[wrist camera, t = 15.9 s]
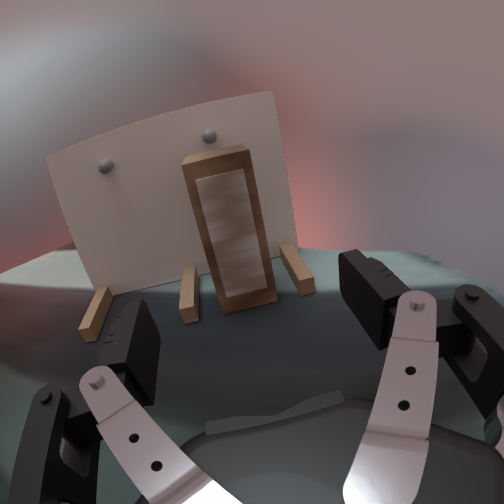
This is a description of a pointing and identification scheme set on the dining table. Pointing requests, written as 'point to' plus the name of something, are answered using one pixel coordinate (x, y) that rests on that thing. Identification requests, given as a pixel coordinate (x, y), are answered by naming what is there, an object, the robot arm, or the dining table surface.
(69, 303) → the dining table surface
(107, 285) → the white upright flat panel
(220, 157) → the frame block
